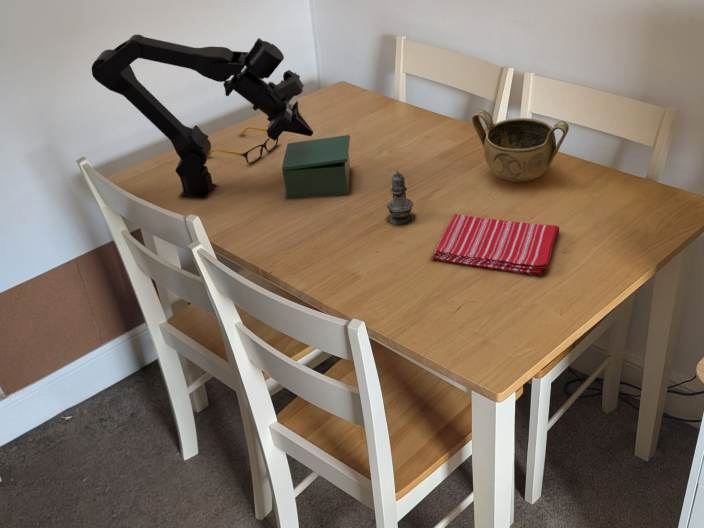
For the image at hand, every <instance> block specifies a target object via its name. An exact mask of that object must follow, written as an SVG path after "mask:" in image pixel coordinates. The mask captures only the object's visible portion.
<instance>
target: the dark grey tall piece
mask: <svg viewBox="0 0 704 528" xmlns="http://www.w3.org/2000/svg"><path fill="white" fill-rule="evenodd" d="M405 180H406V179H405V176H404V174H402V173H400V171H399V170H396V171H395V173H394V174H393V175H392V176H391V188H390V192H391V193H392V195H391V196H392V198H391V200H389V201H388V202H387V204H386V208H387V209H388V212H389V213H390V216H389V218H388V221H389V222H390V223H391V224H393V225H397V226H401V225H403V226H404V225H407V224H409V223H411V222H412V221H413V219H414V217H413V215H412V214H411V212H412V211H413V210H412V209H413V207H414V202H413V200H411V199H409V198H407V191H408V188H407V187H406V181H405Z"/></svg>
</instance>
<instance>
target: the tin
mask: <svg viewBox="0 0 704 528" xmlns="http://www.w3.org/2000/svg"><path fill="white" fill-rule="evenodd" d="M349 154H350V153H349V152H348V161H347V162H342V163H335V164H328V165H320V166H313V167H306V168H299V169H291V170H284V171H282V170H281V171H282V178H283V183H284V189H285V194H286V199H300V198H302V199H303V198H318V197H334V196H348V195H349V189H350V179H351V163H350V162H351V161H350V155H349Z"/></svg>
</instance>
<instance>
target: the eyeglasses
mask: <svg viewBox="0 0 704 528" xmlns="http://www.w3.org/2000/svg"><path fill="white" fill-rule="evenodd" d="M247 130H256V131H262V132H265V133H267V128H260V127H253V126H248V127H245V128H244V129H243V131H242V132H241V133H240V136H244V134H245V133H246V131H247ZM269 140H271V138H270V137H268V138H267V139H266V140H265V141H264V142H263V143H262V144H259V145H256V146H254V147H253V148H251V149H249V150H247V151H245V152H239V151H232V150H225V149H219V148H213V149H211V151H210V154H209V156H208V158H210V156H211V155H212V153H213V152H217V151H218V152H221V153H225V154H231V155H236V156H239V157H244V159H245V161H246V163H247V164H249V165H250V164H251V165H252V164H255V163H256V162H257V161H259V160H261V158H262V156H263V151H264V149H265V151H266V152H267V153H271V152H272V151H273V150H275V148H276V147H277V145H278V143H279V137H278V138H277V139H276V140H275V141H276V142H275V145H274V146H273V148H271V149H269V150H268V147H267V142H268V141H269ZM259 147H260V149H259V157H258V158H257V159H255V160H254V161H250V162H249V158H248V155H249V153H250V152H251V151H253V150H255V149H257V148H259Z"/></svg>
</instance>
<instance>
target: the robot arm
mask: <svg viewBox="0 0 704 528" xmlns="http://www.w3.org/2000/svg"><path fill="white" fill-rule="evenodd" d="M138 59H141V60H147V61H151V62H156V63H160V64H166V65H171V66H176V67H178V68H179V67H180V68H185V69H190V70H192V71H195V72H196V73H198V74H199V75H201V76H202V77H204V78H206V79H209V80H212V81H215V82H218V83H222V86H223V87H224V93H225V97H230V95H231V93H232V92H233V91H234V92H236V93H237V94H238V95H239V96H240V97H242V98H244V99H245V100H246V101H247V102H248V103H250V104H251V105H252V109H253V110H254V111H255V112H257V111H258V110H259V111H260V112H262V113H263V114H264V115H265V116H267V118H266V120H267V121H269V123H268V125H267V128H266V129H267V132H266V134H267V137H268V138H269V137H270V140H272V141H273V142H275V141H276V139H277V138H278V139H279V137H280V136H281V134H283V132H285V133H286V132H287V133H293V134H298V135H303V136H305V137H306V136H307V137H312V136H313V135H314V130H313V129H312V128H311V126H310V125H309V123H308V122H307V121H306V120H305V119H304V117H303V115H302V114H301V113H300V109H299V101H298V100H296V101H295V103H294V104H293V103H290V101H291V100H292V99H293V98H294V97H297V96H299V95H301V94H302V93H303V91H304V90H303V89H304V87H305V85H304V84H303V82H302V81H301V75H299V74H297V72H293V71H292V70H290V69H288V70H286V71H284V72H283V75H282V79H283V80H282V79H281V80H280V82H279V83H277V84H275V83H274V82H273V81H269V82H268V83H267V82H266V81H264V79H269V78H270V77H271V76H272V75H273V73H274V72H275V71H276V69H277V68H278V67H279V66H280V64H281V63H283V61H284V59H285V56H284V54H283V52H282V51H281V49H280V48H278V47H277V46H276V45H275V44H274V43H271V42H269V41H266V40H262V39H261V38H260V37H259V38H257V39H256V41H255V42H254V44H253V46H252V47H251V49H250V50H249V51H238V50H235V51H234V50H231V49H230V48H228V47H225V46H204V47H193V46H188V45H184V44H179V43H174V42H169V41H165V40H160V39H156V38H151V37H148V36H147V37H146V36H144V35H141V34H133V35H131V37H130V38H128V39H127V40H125V41H124V42H122V43H120V44H119V45H117V46H116V47H115V48H113V49H105V50H103V51H102V52H100V54H99V55H98V57H96V59H95V60H94V61H93V63H92V64H91V75H92V77H93V79H94V80H95V81H96V82H97V83H99V84H100V85H101V86H103V87H105V88H106V89H108V90H109V91H111V92H114V93H116V94H119V95H121V96H123V97H124V98H125V99H126V100H127V101H128V102H129V103H131V104H132V106H134V108H136V109H137V111H139V113H141V114H142V116H144V117H145V118H146V119H147V120H148V121H150V122H151V124H152V125H154V126H155V127H156V128H157V129H158V130H159V132H161V133H162V134H163V135H164V136H165V137H166V138H167V139H168V140H169V141H170V142H171V144H172V146H173V148H174V151H175V153H176V154H177V156H178V157H179V158H180V159H179V162H178V163H177V165H176V168H175V173H176V174H177V176H178V177H179V178H180V182H181V187H182V190H183V191H182V192H181V193H180V197H183V198H184V197H185V198H197V199H205V198H207V196H208V195H209V194H210V193H211V191H213V190H214V188H215V187H216V183H214V182H213V179H212V174H211V172H209V169H208V166H207V165H206V164H207V161H208V158H209V157H210V156H209V154H210V151H211V150H212V143H211V141H210V140H209V137H210V136H209V135H208V134H206V133H204V132H203V131H202V130H201V128H200V127H199V126H198V125H196V124H195V125H194V126H193V127H189V126H186V125H185V124H183V123H182V122H181V121H180V119H178V118H177V117H176V116H175V115H174V114H173V113H172V112H171V111H170V110H169V109H168V108H167V107H166V106H165V105H164V104H162V103H161V101H159V100H158V98H157V97H156V96H155V95H153V94H152V92H150V91H149V90H148V89H147V88H146V87H145V86H144V85H143V84H142V83H141V82H140V81H139V79H138V78H137V76H136V74H135V72H134V70H133V68H132V66H131V64H132V63H134V62H135V61H136V60H138ZM208 156H209V157H208Z"/></svg>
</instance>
